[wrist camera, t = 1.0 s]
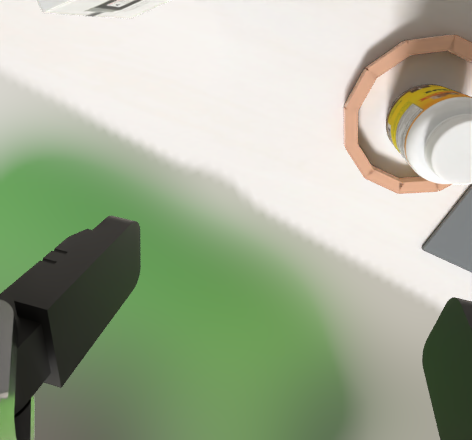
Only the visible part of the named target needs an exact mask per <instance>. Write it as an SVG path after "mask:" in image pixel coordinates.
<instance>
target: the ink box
mask: <svg viewBox="0 0 472 440" xmlns="http://www.w3.org/2000/svg"><path fill="white" fill-rule="evenodd" d="M169 1H171V0H37V2H38V4H39V6H40V8H41V11H42V12H43V13H50V14H63V15H79V16H94V17H108V18H122V19H132V18H134V17H136V16H138V15H141V14H143V13H145V12H147V11H149V10H152V9H154V8H156V7H158V6H161V5H163V4H165V3H167V2H169Z"/></svg>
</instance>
